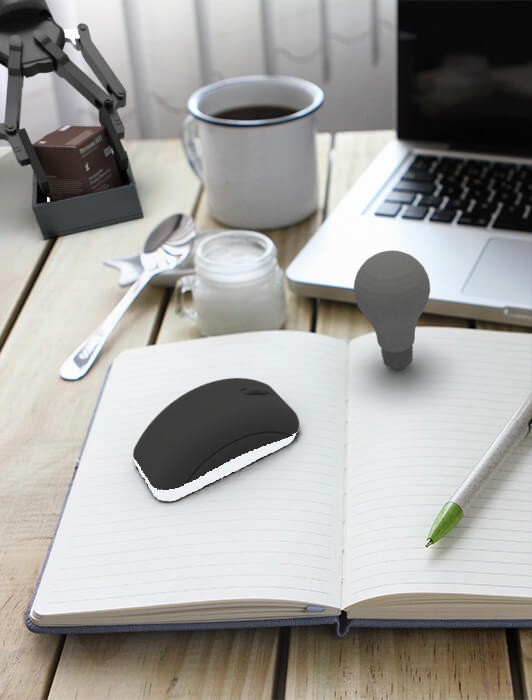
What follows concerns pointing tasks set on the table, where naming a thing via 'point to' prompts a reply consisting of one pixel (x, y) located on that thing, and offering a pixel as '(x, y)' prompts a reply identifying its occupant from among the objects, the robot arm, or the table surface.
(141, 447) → the computer mouse
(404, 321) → the light bulb
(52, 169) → the box
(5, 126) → the robot arm
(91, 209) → the dark grey open tray
